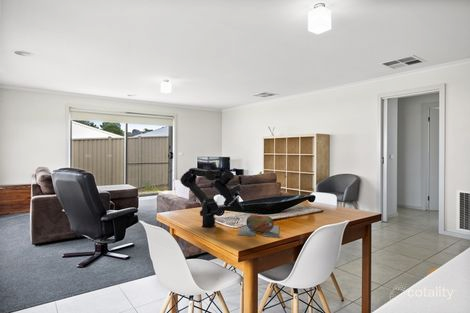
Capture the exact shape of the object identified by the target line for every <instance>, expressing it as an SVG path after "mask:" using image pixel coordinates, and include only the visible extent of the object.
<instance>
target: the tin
mask: <svg viewBox="0 0 470 313" xmlns="http://www.w3.org/2000/svg"><path fill="white" fill-rule="evenodd" d="M245 224H247V227H248V228H249V229H250V230H252V231H256V232H262V233H263V232H269V231H271V230H272V229H273V227H274V226H275V222H274V220H273V218H272V217H271V216H270V215H262V214H250V215H249V216H248V217H247V218H246V222H245Z"/></svg>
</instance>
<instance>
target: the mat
mask: <svg viewBox="0 0 470 313" xmlns="http://www.w3.org/2000/svg"><path fill="white" fill-rule="evenodd" d="M256 234H257V231H252V230H250V229H249V228H248V227H247V226H244V227H242V226H240V228H239V230H238V232H237V236H248V237H255V236H256ZM279 234H280V225H274V227H273V229H272V230H271V231H269V232H262V237H266V238H279V236H280V235H279Z"/></svg>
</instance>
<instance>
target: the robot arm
mask: <svg viewBox="0 0 470 313" xmlns="http://www.w3.org/2000/svg"><path fill="white" fill-rule="evenodd" d="M198 177H203V178H205V179H206V180H208V181H210V182H211V181H213V182H211V183H210V189H213V188H214V189H216V191H217V192H218V193H219V195H220V197H221V196H222V197H223V198H224V201H223V205H224V207H225V208H228V206H229V207H231V208H232V207H233V208H234V209H237V210H238V211H239V210H240V211H244V207H243V205H242V204H241V202H240V194H241V193H240V192H241V191H242V190H243V187H242V184H240V183H238V182H236V183H235V184H234V186H229V185H228V184H230V183H231V181H232V180H233V179H234V178H235V174H234V173H233V172H232V171H231V170H229V169H228V168H224V169H223V171H221V170H220V169H211V170H210V169H209V170H208V169H203V168H197V167H191V168H189V169H188V170H187V171H186V172H185V173H183V175H182V176H181V177H180V178H179V180H180V183H181V185H182V186H183V187H185V188H188V190H190V191H191V193H193V195H194V196H195V198H196V199H197V200H198V201H199V202H200V204H201V210H200V211H199V216H200V217H202V224H201V228H214V227H215V226H216V217H215V216H216V215H217V214H218V211H219V205H218V202H217V201H216V200H215V198H213V197H211V198H209V197H208V196H207V195H206V194H205V192H204V191H203V190H202V188H200V186H199V185H198V184H197V178H198Z"/></svg>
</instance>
